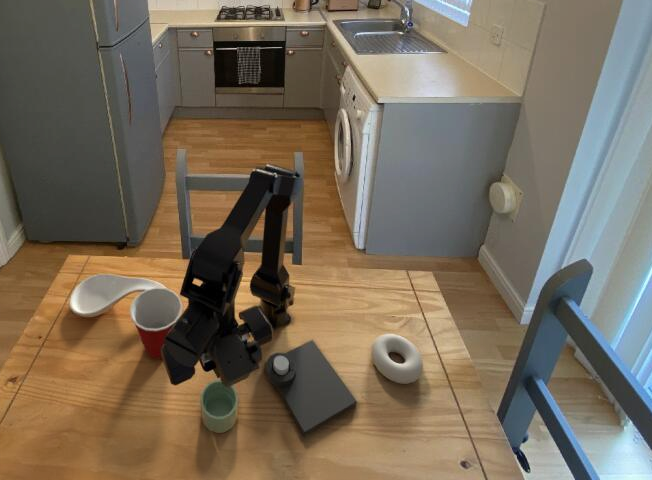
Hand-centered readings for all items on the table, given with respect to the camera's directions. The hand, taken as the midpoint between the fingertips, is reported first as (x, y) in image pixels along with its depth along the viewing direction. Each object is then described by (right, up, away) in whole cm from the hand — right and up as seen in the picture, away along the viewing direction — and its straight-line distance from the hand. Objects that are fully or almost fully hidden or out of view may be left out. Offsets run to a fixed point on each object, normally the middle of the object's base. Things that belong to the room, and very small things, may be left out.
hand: (219, 374), depth 74 cm
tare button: (+12, -5, +9) cm, 16 cm away
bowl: (0, -10, +4) cm, 11 cm away
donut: (+36, -6, +13) cm, 39 cm away
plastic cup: (-13, -5, +17) cm, 22 cm away
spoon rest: (-24, -1, +27) cm, 36 cm away
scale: (+18, -8, +9) cm, 21 cm away
